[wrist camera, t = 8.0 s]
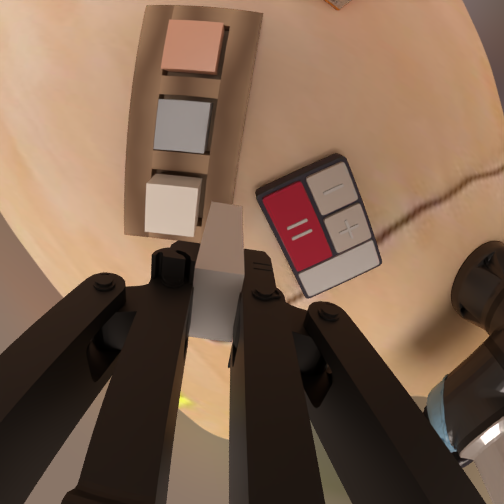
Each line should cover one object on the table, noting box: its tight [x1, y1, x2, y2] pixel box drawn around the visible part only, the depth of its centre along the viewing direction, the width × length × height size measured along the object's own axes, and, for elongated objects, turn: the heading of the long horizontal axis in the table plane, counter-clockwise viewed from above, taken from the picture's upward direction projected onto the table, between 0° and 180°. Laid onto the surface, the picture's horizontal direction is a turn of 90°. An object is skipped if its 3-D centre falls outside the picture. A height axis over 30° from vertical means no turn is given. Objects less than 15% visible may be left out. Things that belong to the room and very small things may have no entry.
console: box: [124, 5, 263, 243], centre depth 31 cm, size 12×26×3 cm, turn 171°
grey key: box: [154, 99, 213, 154], centre depth 30 cm, size 5×5×4 cm
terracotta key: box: [161, 20, 224, 75], centre depth 25 cm, size 5×5×4 cm
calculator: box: [255, 153, 382, 298], centre depth 38 cm, size 11×4×15 cm
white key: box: [145, 174, 202, 237], centre depth 31 cm, size 5×5×4 cm
